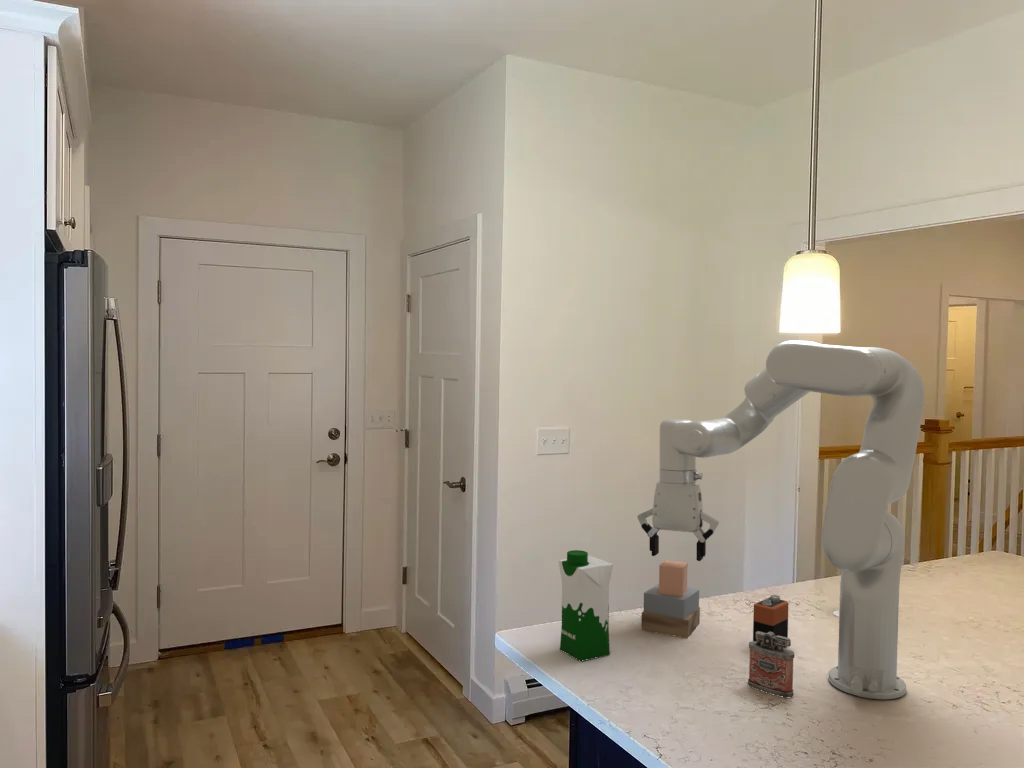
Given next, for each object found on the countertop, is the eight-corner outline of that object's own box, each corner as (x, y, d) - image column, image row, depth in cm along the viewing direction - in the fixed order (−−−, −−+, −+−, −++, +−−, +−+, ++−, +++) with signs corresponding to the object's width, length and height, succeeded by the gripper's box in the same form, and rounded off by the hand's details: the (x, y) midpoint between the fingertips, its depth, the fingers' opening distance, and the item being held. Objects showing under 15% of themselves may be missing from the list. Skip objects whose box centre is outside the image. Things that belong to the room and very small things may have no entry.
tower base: (688, 639, 162) (688, 620, 161) (641, 631, 166) (641, 613, 166) (699, 625, 171) (699, 606, 170) (654, 617, 175) (655, 600, 175)
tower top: (683, 619, 162) (684, 600, 162) (643, 611, 167) (643, 592, 167) (698, 608, 170) (699, 589, 169) (659, 600, 175) (660, 582, 174)
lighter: (744, 686, 138) (745, 630, 138) (753, 680, 141) (754, 625, 140) (788, 700, 133) (790, 642, 132) (796, 693, 135) (798, 636, 135)
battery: (788, 646, 158) (789, 597, 157) (772, 654, 153) (773, 604, 153) (768, 640, 161) (769, 592, 161) (751, 648, 156) (752, 599, 156)
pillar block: (682, 596, 164) (683, 568, 164) (658, 593, 166) (659, 565, 166) (687, 590, 169) (687, 562, 169) (664, 587, 171) (664, 560, 171)
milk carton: (553, 649, 155) (554, 549, 154) (590, 641, 159) (591, 543, 159) (579, 664, 147) (580, 559, 146) (617, 655, 152) (618, 553, 151)
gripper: (722, 477, 166) (721, 557, 166) (643, 472, 174) (643, 549, 174) (714, 482, 159) (714, 565, 160) (632, 477, 167) (632, 556, 167)
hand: (677, 557), depth 167 cm, fingers open, 9 cm apart
